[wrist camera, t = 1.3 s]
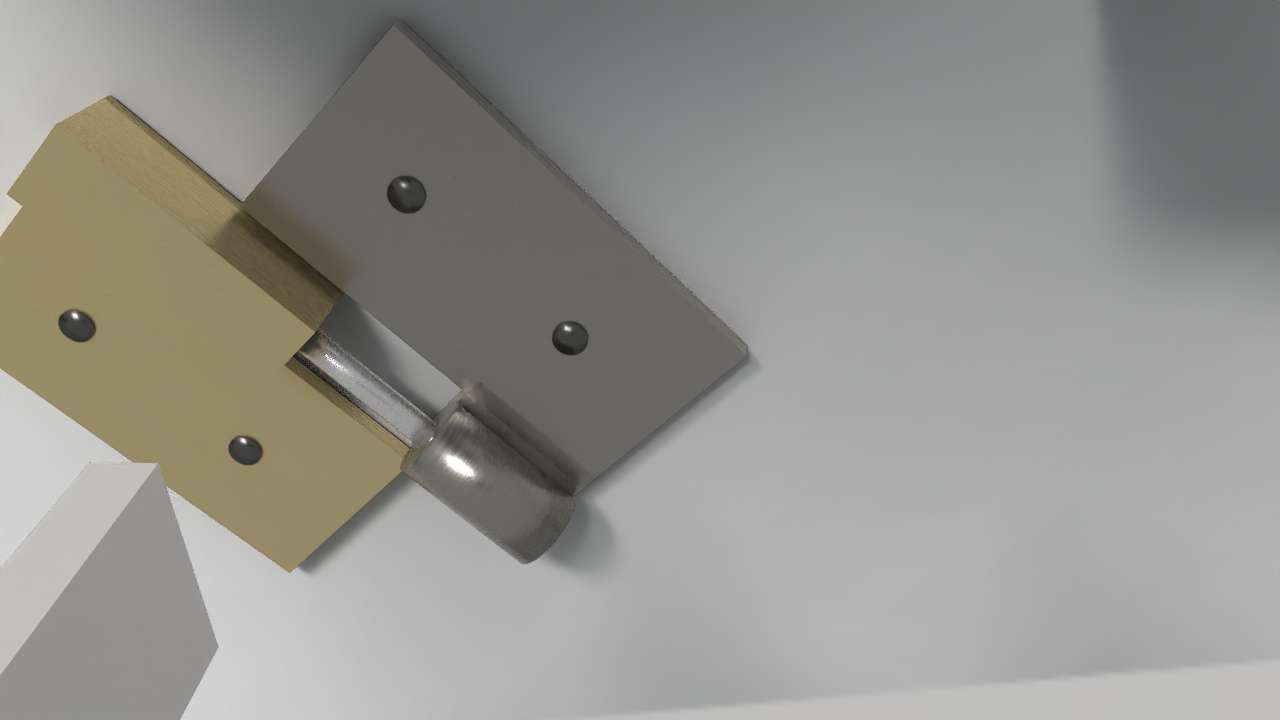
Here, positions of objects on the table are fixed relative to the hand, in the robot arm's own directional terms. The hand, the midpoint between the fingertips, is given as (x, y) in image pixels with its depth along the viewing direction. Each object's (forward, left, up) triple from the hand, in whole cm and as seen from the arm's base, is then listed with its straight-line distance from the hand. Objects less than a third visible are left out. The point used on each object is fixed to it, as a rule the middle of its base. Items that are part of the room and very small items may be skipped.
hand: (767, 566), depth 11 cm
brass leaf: (-5, -20, -23) cm, 31 cm away
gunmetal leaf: (0, -12, -23) cm, 26 cm away
